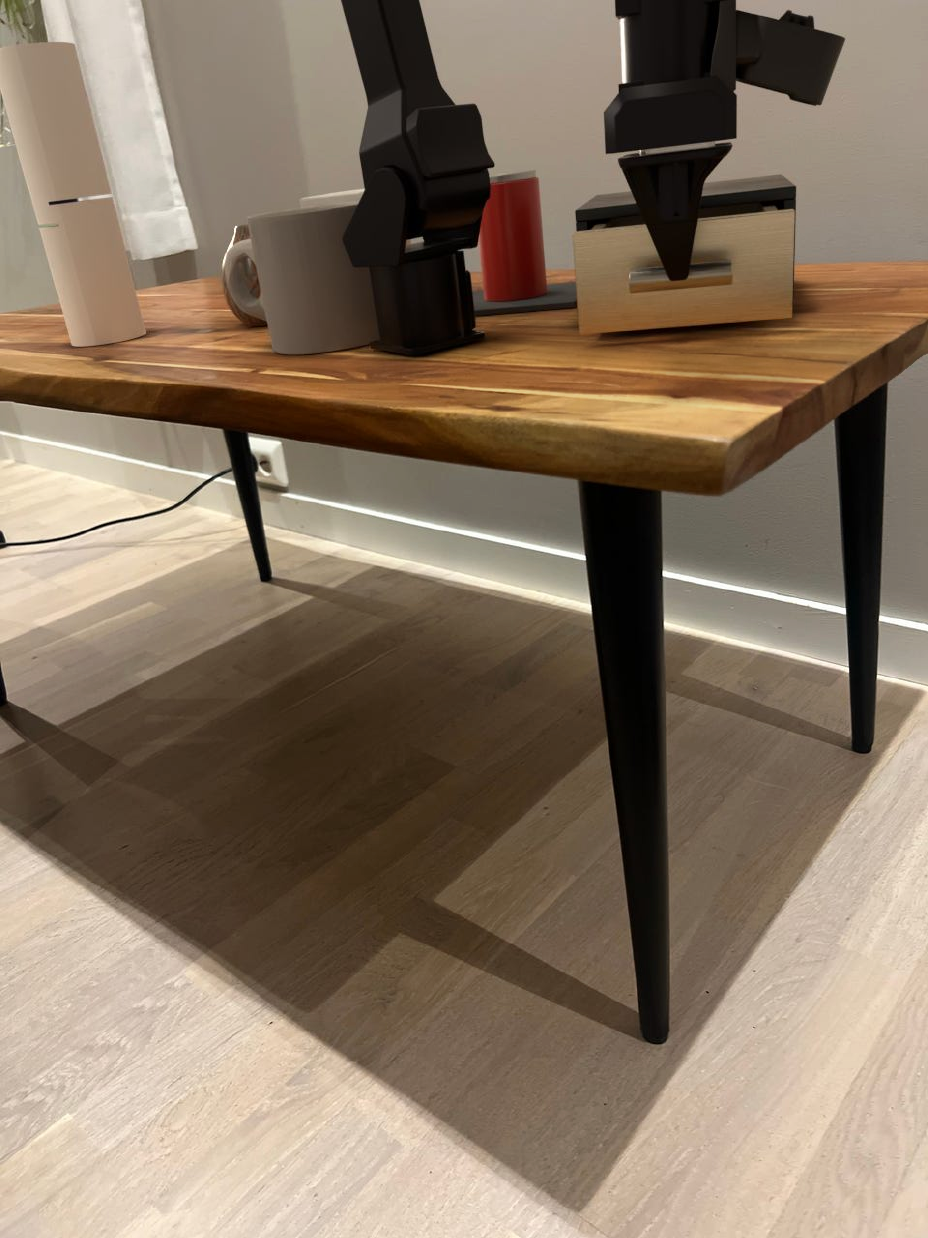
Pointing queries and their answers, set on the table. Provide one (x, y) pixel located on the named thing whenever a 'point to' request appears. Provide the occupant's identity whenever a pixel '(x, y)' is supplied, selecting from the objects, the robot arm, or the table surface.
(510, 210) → the can
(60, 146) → the cylindrical container
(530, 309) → the mat
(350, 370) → the table surface
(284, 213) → the coffee mug
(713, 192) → the cabinet
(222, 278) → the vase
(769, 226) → the drawer
